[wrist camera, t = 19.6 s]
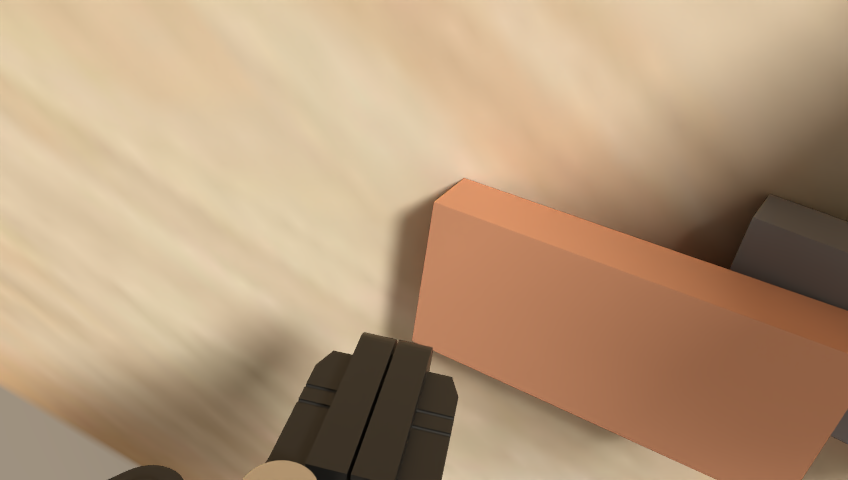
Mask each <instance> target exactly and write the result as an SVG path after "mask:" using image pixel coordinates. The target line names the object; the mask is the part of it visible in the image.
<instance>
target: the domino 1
mask: <svg viewBox="0 0 848 480" xmlns="http://www.w3.org/2000/svg"><path fill="white" fill-rule="evenodd" d="M412 341H413V342H416V343H418V344H420V345H425V346H430V347H433V351H435V352H438V353H440V354H442V355H444V356H446V357H449V358H451V359H453V360H455V361H457V362H459V363H462V364H464V365H466V366H468V367H470V368H473V369H475V370H477V371H479V372H481V373H484V374H486V375H488V376H490V377H492V378H495V379H497V380H499V381H501V382H503V383H506V384H508V385H510V386H512V387H514V388H517V389H519V390H521V391H523V392H525V393H528V394H530V395H532V396H534V397H536V398H539V399H541V400H543V401H545V402H547V403H550V404H552V405H554V406H556V407H558V408H561V409H563V410H565V411H567V412H569V413H572V414H574V415H576V416H578V417H580V418H582V419H585V420H587V421H589V422H591V423H593V424H596V425H598V426H600V427H602V428H604V429H607V430H609V431H611V432H613V433H615V434H618V435H620V436H622V437H624V438H626V439H629V440H631V441H633V442H635V443H637V444H640V445H642V446H644V447H646V448H648V449H651V450H653V451H655V452H657V453H659V454H662V455H664V456H666V457H668V458H670V459H673V460H675V461H677V462H679V463H681V464H684V465H686V466H688V467H690V468H692V469H695V470H697V471H699V472H701V473H703V474H705V475H708V476H710V477H712V478H714V479H716V480H802V478H803V477H804V475H805V474H806V472H807V471H808V469H809V468H810V466H811V464H812V463H813V461H814V460H815V458H816V457H817V455H818V454H819V452H820V451H821V449H822V448H823V446H824V445H825V443H826V441H827V440H828V438H829V437H830V435H831V434H832V432H833V431H834V429H835V428H836V426H837V425H838V423H839V422H840V420H841V418H842V417H843V415H844V414H845V412H846V411H847V409H848V311H847V310H844V309H841V308H838V307H835V306H833V305H830V304H827V303H824V302H821V301H818V300H815V299H812V298H809V297H806V296H804V295H801V294H798V293H795V292H792V291H789V290H786V289H783V288H780V287H778V286H775V285H772V284H769V283H766V282H763V281H760V280H757V279H754V278H752V277H749V276H746V275H743V274H740V273H737V272H734V271H731V270H728V269H726V268H723V267H720V266H717V265H714V264H711V263H708V262H705V261H702V260H700V259H697V258H694V257H691V256H688V255H685V254H682V253H679V252H676V251H674V250H671V249H668V248H665V247H662V246H659V245H656V244H653V243H650V242H647V241H645V240H642V239H639V238H636V237H633V236H630V235H627V234H624V233H621V232H619V231H616V230H613V229H610V228H607V227H604V226H601V225H598V224H595V223H593V222H590V221H587V220H584V219H581V218H578V217H575V216H572V215H569V214H567V213H564V212H561V211H558V210H555V209H552V208H549V207H546V206H543V205H541V204H538V203H535V202H532V201H529V200H526V199H523V198H520V197H517V196H515V195H512V194H509V193H506V192H503V191H500V190H497V189H494V188H491V187H489V186H486V185H483V184H480V183H477V182H474V181H471V180H468V179H465V178H464V179H462V180H461V181H460V182H459V183H457V184H456V185H455V186H453V187H452V188H451V189H450V190H448V191H447V192H446V193H445V194H443V195H442V196H441V197H440V198H438V199H437V200H436V201H435V202H434V205H433V211H432V217H431V224H430V230H429V236H428V243H427V249H426V255H425V262H424V268H423V274H422V281H421V287H420V293H419V300H418V306H417V312H416V319H415V325H414V331H413V338H412Z"/></svg>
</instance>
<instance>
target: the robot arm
mask: <svg viewBox="0 0 848 480" xmlns="http://www.w3.org/2000/svg"><path fill="white" fill-rule="evenodd" d="M432 353H433V347H430V346H425V345H420V344H416V343H411V342H407V341H402V340H399V342H398V344H397V339H393V338H388V337H383V336H379V335H374V334H370V333H365V332H364V333H363V334H362V335H361V337H360V340H359V342H358V344H357V347H356V349H355V351H354V353H353V355H350V354H346V353H342V352H337V351H333V352H331V353H330V354H329V355H328V356H326V357H325V358H324V359H323V360H321V361H320V362H319V363H317V364H316V366H315V368H314V369H313V371H312V373H311V375H310V377H309V379H308V381H307V384H306V387H304V389H303V391H302V393H301V395H300V397H299V401H298V402H297V403H296V405H295V407H294V409H293V411H292V413H291V415H290V417H289V419H288V421H287V423H286V425H285V427H284V429H283V431H282V433H281V435H280V437H279V439H278V441H277V443H276V445H275V447H274V448H273V450H272V452H271V454H270V456H269V458H268V460H267V461H266V463H264V464H261V465H259V466H257V467H256V468H254V469H253V470H251V471H250V472H249V473H248V474H247V475H246V476H245V477H244V478H243V479H242V480H442V475H443V470H444V465H445V460H446V455H447V451H448V446H449V441H450V436H451V431H452V426H453V421H454V416H455V411H456V406H457V401H458V394H457V391H456V388H455V385H454V382H453V379H452V377H449V376H445V375H440V374H436V373H431V372H429V371H430V365H431V359H432ZM109 480H183V478H182V477H181V476H180V475H179V474H178V473H177V472H176V471H174V470H172V469H170V468H167V467H164V466H157V465H148V466H141V467H137V468H133V469H131V470H128V471H126V472H124V473H121V474H119V475H117V476H115V477H113V478H111V479H109Z"/></svg>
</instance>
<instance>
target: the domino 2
mask: <svg viewBox="0 0 848 480" xmlns="http://www.w3.org/2000/svg"><path fill="white" fill-rule="evenodd" d="M729 270H731V271H734V272H737V273H740V274H743V275H746V276H749V277H752V278H754V279H757V280H760V281H763V282H766V283H769V284H772V285H775V286H778V287H780V288H783V289H786V290H789V291H792V292H795V293H798V294H801V295H804V296H806V297H809V298H812V299H815V300H818V301H821V302H824V303H827V304H830V305H833V306H835V307H838V308H841V309H844V310H847V311H848V222H847V221H845V220H842V219H839V218H836V217H833V216H830V215H828V214H825V213H822V212H819V211H816V210H814V209H811V208H808V207H805V206H802V205H799V204H797V203H794V202H791V201H788V200H785V199H782V198H780V197H777V196H774V195H771V194H769V196H768V197H767V199H766V200H765V201H764V203H763V204H762V205H761V207H760V208H759V209H758V211H757V212H756V214H755V215H754V216H753V218H752V220H751V222H750V225H749V227H748V229H747V231H746V234H745V236H744V238H743V240H742V243H741V245H740V247H739V249H738V252H737V254H736V256H735V258H734V260H733V263H732V265H731V267H730V269H729ZM830 436H832V437H834V438H836V439H838V440H840V441H842V442H844V443H846V444H848V409H847V411H846V412H845V414H844V415H843V417H842V418H841V420H840V422H839V423H838V425H837V426H836V428H835V429H834V431H833V432H832V434H831V435H830Z"/></svg>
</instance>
